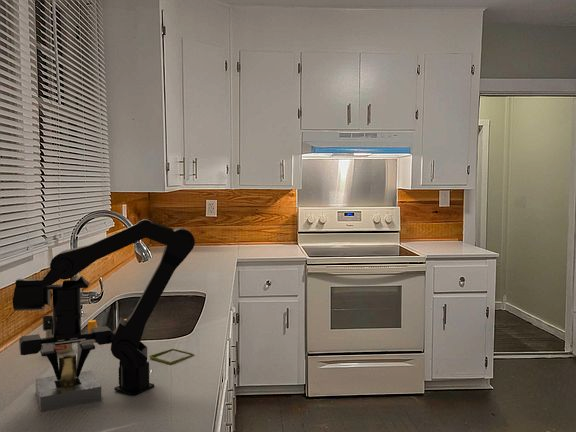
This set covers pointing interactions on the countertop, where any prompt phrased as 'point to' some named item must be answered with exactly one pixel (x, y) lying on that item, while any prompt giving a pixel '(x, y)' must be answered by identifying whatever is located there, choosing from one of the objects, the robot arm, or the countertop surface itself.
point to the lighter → (59, 347)
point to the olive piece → (167, 352)
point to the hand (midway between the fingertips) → (67, 378)
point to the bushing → (67, 370)
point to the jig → (67, 391)
